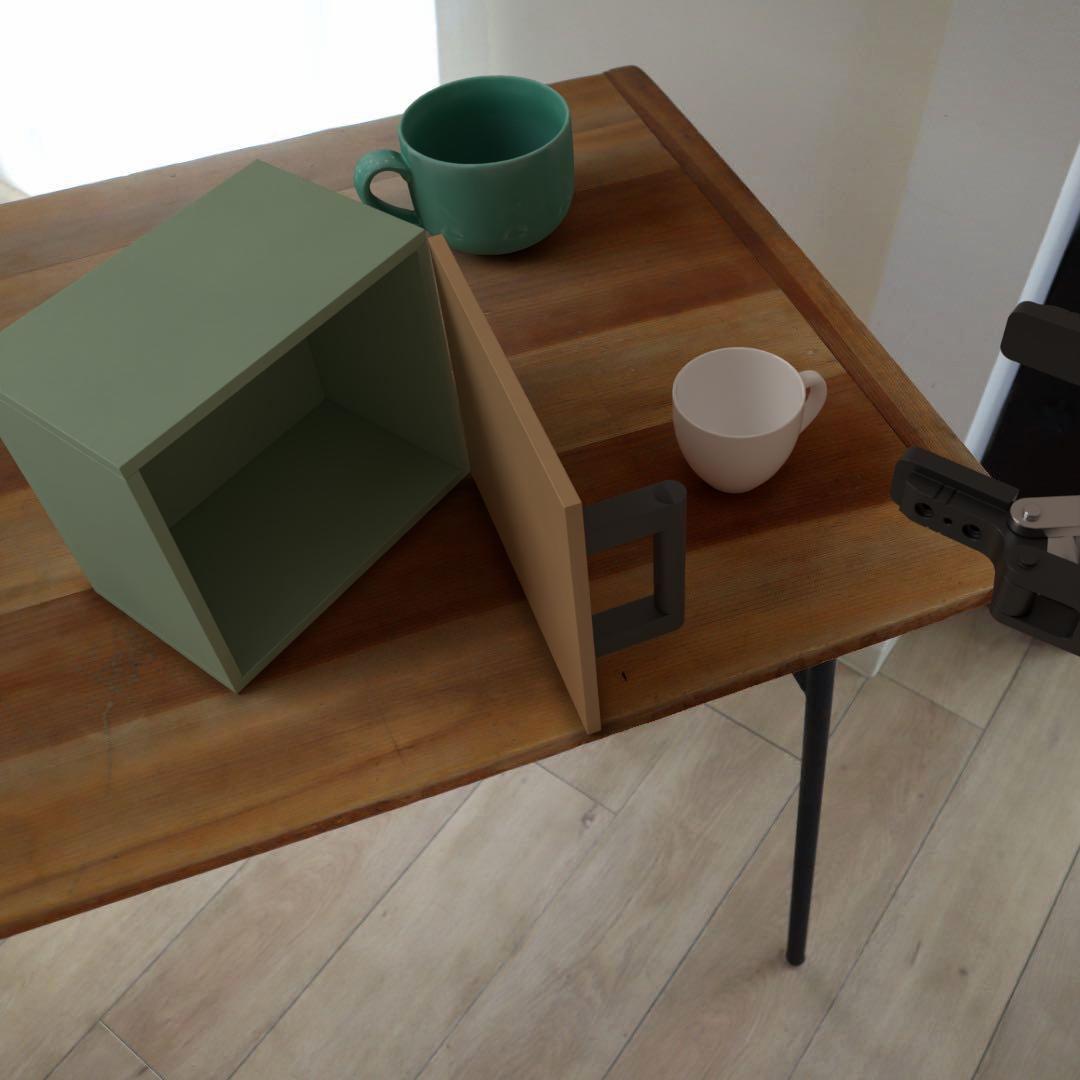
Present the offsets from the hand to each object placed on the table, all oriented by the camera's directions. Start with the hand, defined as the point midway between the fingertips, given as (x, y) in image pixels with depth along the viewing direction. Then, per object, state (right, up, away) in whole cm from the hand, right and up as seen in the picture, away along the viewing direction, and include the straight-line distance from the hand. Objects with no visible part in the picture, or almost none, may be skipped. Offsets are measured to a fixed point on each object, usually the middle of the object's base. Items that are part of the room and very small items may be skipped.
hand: (955, 395), depth 40 cm
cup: (-1, 0, +34) cm, 34 cm away
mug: (-19, +19, +52) cm, 59 cm away
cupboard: (-30, -4, +34) cm, 45 cm away
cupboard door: (-12, -7, +29) cm, 32 cm away
